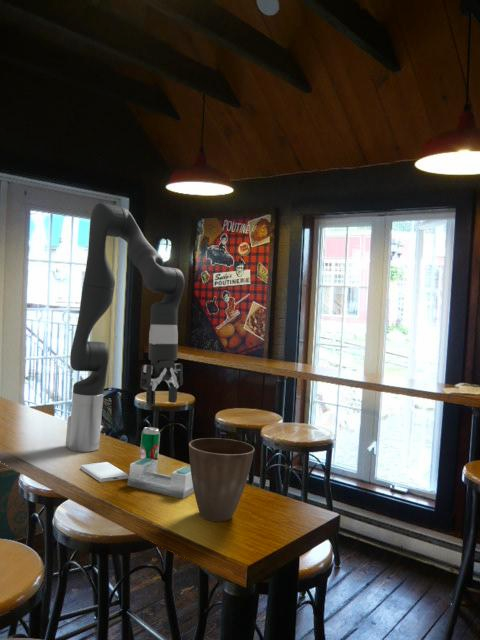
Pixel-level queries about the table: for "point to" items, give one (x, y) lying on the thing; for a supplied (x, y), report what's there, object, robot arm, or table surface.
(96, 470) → the hard drive
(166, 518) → the table surface
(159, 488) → the grey u-shaped block
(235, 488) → the plant pot
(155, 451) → the soda can
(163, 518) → the table surface
